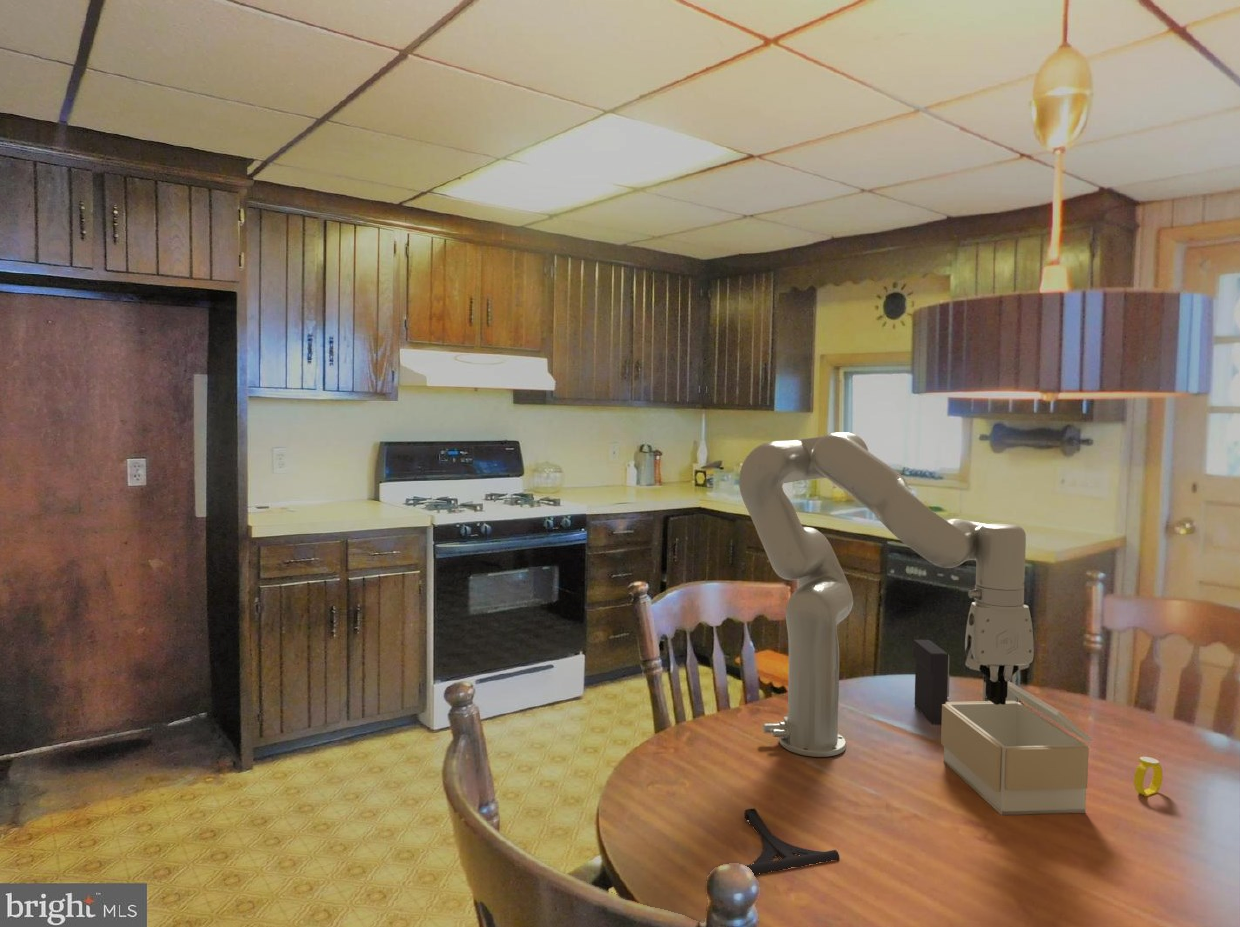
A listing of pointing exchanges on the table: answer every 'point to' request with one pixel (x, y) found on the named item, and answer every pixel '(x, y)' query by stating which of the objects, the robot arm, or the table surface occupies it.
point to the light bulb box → (1010, 696)
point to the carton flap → (1047, 711)
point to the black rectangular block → (931, 679)
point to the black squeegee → (781, 850)
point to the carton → (1015, 758)
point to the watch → (1140, 773)
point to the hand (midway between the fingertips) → (996, 701)
